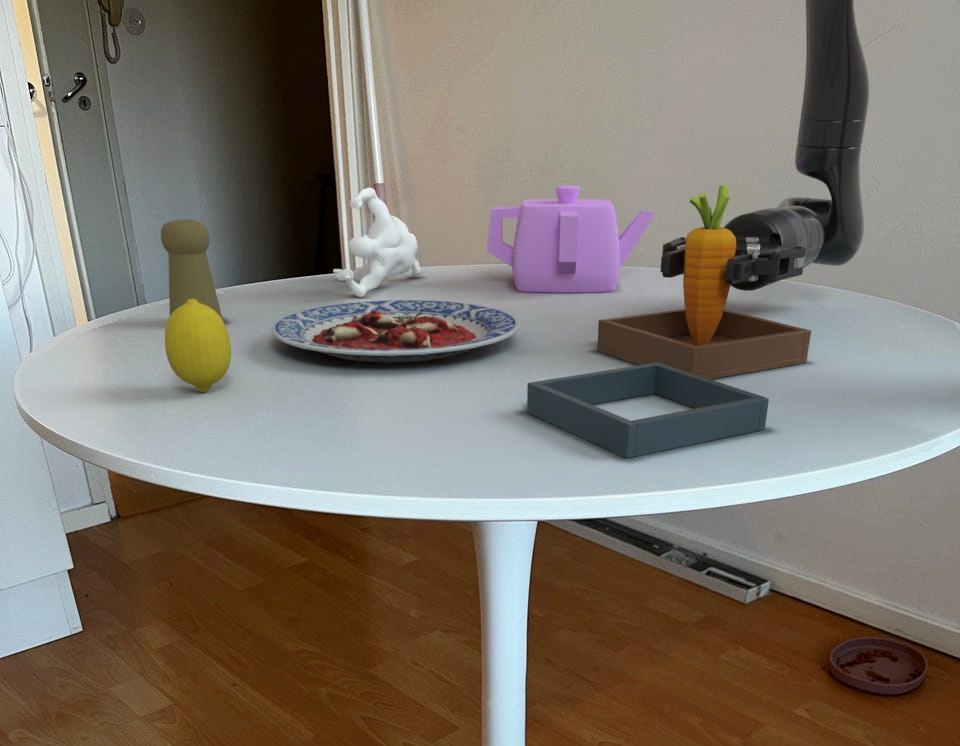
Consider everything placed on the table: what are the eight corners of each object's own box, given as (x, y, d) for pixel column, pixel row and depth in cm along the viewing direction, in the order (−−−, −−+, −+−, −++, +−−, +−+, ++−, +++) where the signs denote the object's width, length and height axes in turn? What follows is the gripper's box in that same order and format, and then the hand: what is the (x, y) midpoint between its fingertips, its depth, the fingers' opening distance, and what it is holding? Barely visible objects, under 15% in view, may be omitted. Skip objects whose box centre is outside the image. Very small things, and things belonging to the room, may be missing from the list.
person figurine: (339, 194, 138) (353, 179, 121) (429, 214, 141) (455, 201, 124) (326, 293, 141) (338, 291, 125) (415, 310, 145) (438, 310, 128)
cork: (185, 330, 112) (170, 225, 107) (160, 322, 116) (144, 220, 111) (233, 323, 116) (221, 220, 110) (207, 315, 120) (194, 215, 114)
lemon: (220, 380, 93) (209, 290, 89) (246, 393, 89) (235, 300, 85) (162, 390, 90) (148, 297, 86) (186, 404, 86) (172, 307, 82)
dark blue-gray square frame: (655, 390, 89) (658, 362, 88) (765, 429, 79) (769, 398, 78) (526, 412, 83) (527, 382, 82) (626, 458, 73) (629, 424, 72)
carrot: (688, 357, 98) (704, 188, 90) (666, 346, 102) (679, 184, 94) (734, 354, 99) (753, 187, 91) (710, 343, 103) (727, 183, 96)
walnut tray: (706, 335, 109) (709, 305, 108) (806, 362, 98) (811, 330, 96) (596, 351, 103) (598, 319, 101) (691, 382, 92) (694, 348, 90)
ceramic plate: (453, 387, 91) (452, 353, 89) (221, 359, 100) (217, 329, 99) (556, 330, 111) (556, 302, 110) (355, 312, 121) (353, 286, 119)
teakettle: (476, 285, 137) (476, 186, 131) (560, 270, 147) (563, 178, 141) (570, 301, 126) (574, 194, 120) (653, 285, 137) (661, 185, 131)
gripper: (704, 205, 108) (631, 221, 96) (837, 213, 101) (776, 231, 89) (697, 278, 112) (626, 302, 100) (825, 291, 105) (765, 318, 93)
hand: (697, 268), depth 94 cm, fingers open, 6 cm apart
